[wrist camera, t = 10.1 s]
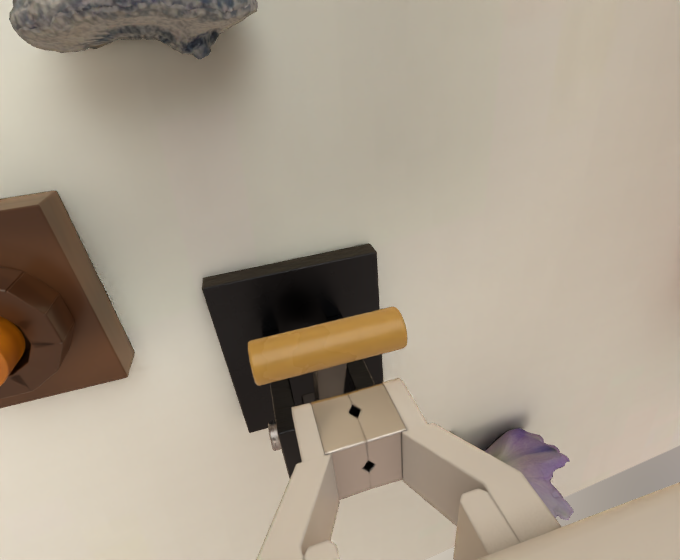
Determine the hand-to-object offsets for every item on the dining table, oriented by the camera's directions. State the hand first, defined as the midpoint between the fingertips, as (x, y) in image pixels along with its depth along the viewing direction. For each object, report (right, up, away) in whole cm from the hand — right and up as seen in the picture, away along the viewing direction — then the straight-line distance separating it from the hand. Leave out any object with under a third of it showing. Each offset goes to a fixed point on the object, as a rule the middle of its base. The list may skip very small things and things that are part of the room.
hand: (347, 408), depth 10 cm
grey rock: (-8, +15, +5) cm, 18 cm away
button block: (-17, +2, +10) cm, 19 cm away
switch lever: (-1, 0, +7) cm, 7 cm away
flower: (+13, -13, +28) cm, 33 cm away
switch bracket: (-3, -1, +16) cm, 16 cm away
